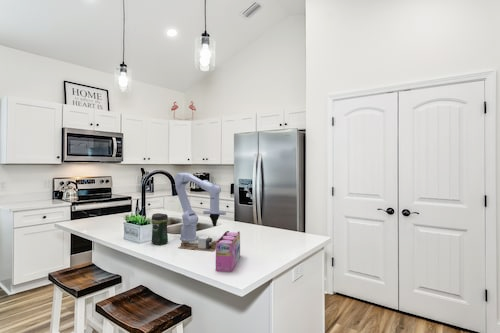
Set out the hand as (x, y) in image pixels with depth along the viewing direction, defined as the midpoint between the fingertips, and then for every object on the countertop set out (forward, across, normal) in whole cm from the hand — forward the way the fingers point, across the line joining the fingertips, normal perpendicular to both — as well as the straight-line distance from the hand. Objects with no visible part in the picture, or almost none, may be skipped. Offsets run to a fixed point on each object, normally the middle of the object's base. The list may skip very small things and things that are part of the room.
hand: (214, 225), depth 182 cm
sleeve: (+10, -2, -13) cm, 17 cm away
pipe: (+9, -5, -13) cm, 17 cm away
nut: (+10, +2, -13) cm, 17 cm away
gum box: (+11, +20, -33) cm, 40 cm away
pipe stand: (+10, -5, -13) cm, 17 cm away
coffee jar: (+11, -32, -11) cm, 35 cm away
